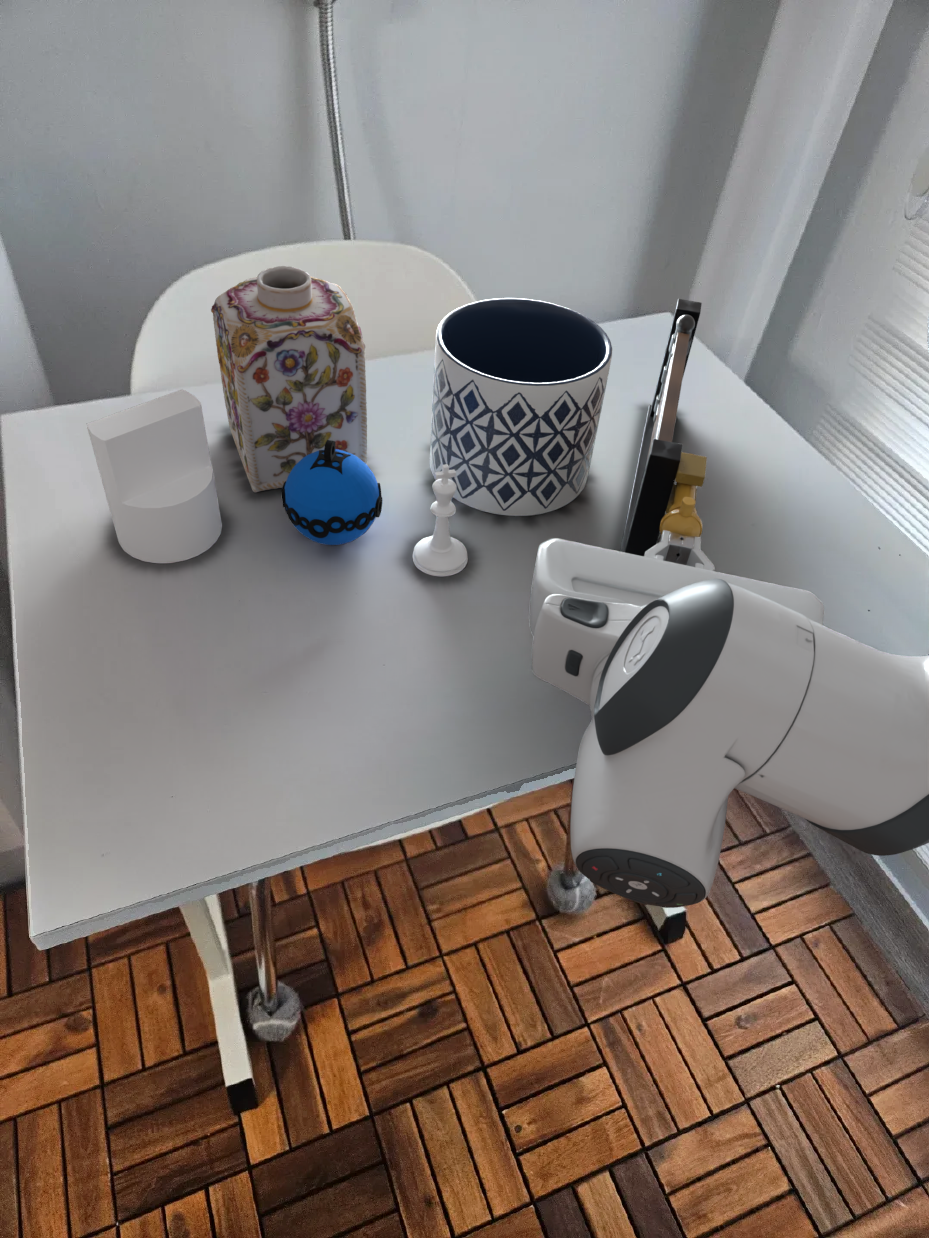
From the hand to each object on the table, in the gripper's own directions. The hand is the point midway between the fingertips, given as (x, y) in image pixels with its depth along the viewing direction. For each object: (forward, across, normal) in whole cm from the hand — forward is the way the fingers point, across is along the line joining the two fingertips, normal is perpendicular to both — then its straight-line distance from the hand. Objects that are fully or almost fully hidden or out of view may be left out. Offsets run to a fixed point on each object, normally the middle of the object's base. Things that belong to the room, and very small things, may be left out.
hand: (679, 540), depth 67 cm
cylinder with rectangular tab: (-1, +43, +10) cm, 45 cm away
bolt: (+5, 0, +2) cm, 6 cm away
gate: (+20, +2, +9) cm, 23 cm away
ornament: (+3, +29, +10) cm, 31 cm away
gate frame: (+20, +1, +10) cm, 23 cm away
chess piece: (+3, +19, +10) cm, 22 cm away
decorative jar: (+14, +37, +10) cm, 41 cm away
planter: (+18, +16, +10) cm, 26 cm away
